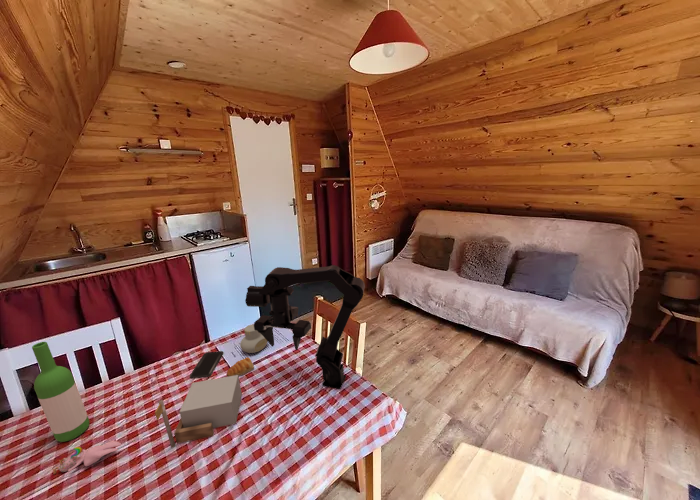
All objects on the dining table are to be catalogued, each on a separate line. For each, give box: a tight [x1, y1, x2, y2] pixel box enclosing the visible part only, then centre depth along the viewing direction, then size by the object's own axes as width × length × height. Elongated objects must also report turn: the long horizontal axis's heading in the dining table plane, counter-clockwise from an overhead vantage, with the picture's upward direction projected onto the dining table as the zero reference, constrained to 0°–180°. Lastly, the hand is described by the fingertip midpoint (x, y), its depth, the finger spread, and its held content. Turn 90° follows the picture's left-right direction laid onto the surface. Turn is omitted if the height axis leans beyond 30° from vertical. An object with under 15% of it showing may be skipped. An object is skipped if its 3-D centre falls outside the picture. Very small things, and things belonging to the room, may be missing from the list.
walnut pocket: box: [154, 399, 215, 449], centre depth 87 cm, size 11×21×15 cm, turn 11°
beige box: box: [179, 375, 243, 429], centre depth 91 cm, size 14×12×8 cm
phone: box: [189, 350, 224, 380], centre depth 116 cm, size 8×1×15 cm
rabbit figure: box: [52, 440, 122, 475], centre depth 78 cm, size 6×6×15 cm
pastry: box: [226, 356, 255, 377], centre depth 110 cm, size 9×7×4 cm
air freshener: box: [239, 323, 268, 354], centre depth 123 cm, size 11×8×10 cm
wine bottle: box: [31, 341, 90, 443], centre depth 84 cm, size 8×8×30 cm
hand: (284, 347), depth 101 cm, fingers open, 9 cm apart
